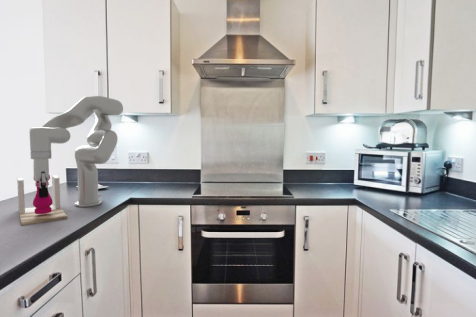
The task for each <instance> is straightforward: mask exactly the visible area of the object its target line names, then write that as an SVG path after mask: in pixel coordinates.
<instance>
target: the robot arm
mask: <svg viewBox="0 0 476 317" xmlns="http://www.w3.org/2000/svg"><path fill="white" fill-rule="evenodd" d="M123 112H124V106H123V103H122V102H121V101H120V100H118V99H114V98H111V97H106V96H102V95H86V96H84V97H82V98H80V99H79V100H78V102H76V103H75V104H74V105H73V106H72V107H71V108H70V109H68V110H67V111H65V112H62V113H61V114H59V115H56V116H54V117H52V118H51V119H49V120H47V121H45V123H44V124H43V125H42V126H40V127H39V126H33V127H30V128H29V146H30V149H29V150H30V153H29V154H30V160H33V179H34V178H35V181H34V182H35V183H36V182H37V181H39V197H40V198H41V197H48V192H49V187H48V188H47V181H48V180H49V181H50V179H49V175H50V162H49V161H50V159H52V144H54V145H55V144H56V145H58V144H59V145H60V144H66V143H67V142H69V141H70V139H71V133H70V131H69V130H68V129H69V128H72V127H77V126H80V125H81V124H84V123H85V121H86V120H87V119H88V118H89V117H90V116H91V115H92V114H94V116H95V123H94V125H93V127H92V128H91V130H90V132H89V133H88V135H87V137H86V142H87V145H81V146H78V147H77V148H76V149H75V151H74V158H75V163H76V167H77V168H76V171H77V199H78V200H77V201H76V202H74V206H75V207H80V208H81V207H82V208H85V207H96V206H98V205H101V204H102V200H100V199H99V198H101V197H102V194H101V193H99V177H98V176H99V172H98V167H97V166H96V165H103V164H106V163H107V162H109V159H110V158H111V156H112V154H113V152H114V151H115V149H116V146H117V144H118V135H117V133H116V132H115V131H114V130H112V122H111V119H110V117H109V116H119V115H121V114H122V113H123ZM40 180H42V181H40ZM49 181H48V182H49Z"/></svg>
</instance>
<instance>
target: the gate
mask: <svg viewBox="0 0 476 317" xmlns="http://www.w3.org/2000/svg"><path fill="white" fill-rule="evenodd" d="M16 181H17V201H18V202H17V203H18V206H17V207H18V214H19V216H20V214H22V213H30V212H35V209H36V208H35V207H34V206H33V207H25V203H26V202H25V182H24V178H23V177H17V178H16ZM60 185H61V184H60V177H59V176H58V175H57V174H55V175H51V189H52V190H51V192H52V195H51V197H52V201H53V203H52V205H51V206H50V207H51V208H52V210H53V209H61V193H60V192H61V188H60V187H61V186H60Z"/></svg>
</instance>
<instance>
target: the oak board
mask: <svg viewBox="0 0 476 317" xmlns="http://www.w3.org/2000/svg"><path fill="white" fill-rule="evenodd" d="M19 219H20V224H21V226H26V225H32V224H33V225H34V224H40V223H45V222H46V223H47V222H53V221H58V220H59V221H60V220H66V219H68V215H67V214H66V213H65V211H64V210H63V209H62V208H60V209H53V210H52V211H51V212H50V213H46V214H35V212H30V213H22V214H20V215H19Z"/></svg>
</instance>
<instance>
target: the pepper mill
mask: <svg viewBox="0 0 476 317" xmlns="http://www.w3.org/2000/svg"><path fill="white" fill-rule="evenodd" d="M50 180H51V176H50V174H49V180H48V181H47V188H48V189H49V185H50V182H49V181H50ZM33 181H34V182H35V178H34V177H33ZM40 181H42V180H40ZM34 185H35V187H36V194H35V196H34V197H33V202H32V206H33V207H35V208H36V209H35V214H46V213H50V212H51V211H52V208H51V207H50V206H51V205H53V197H52V195H51V194H50V192H49V191H48V197H41V198H40V197H39V181H37V182H35V184H34Z"/></svg>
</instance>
